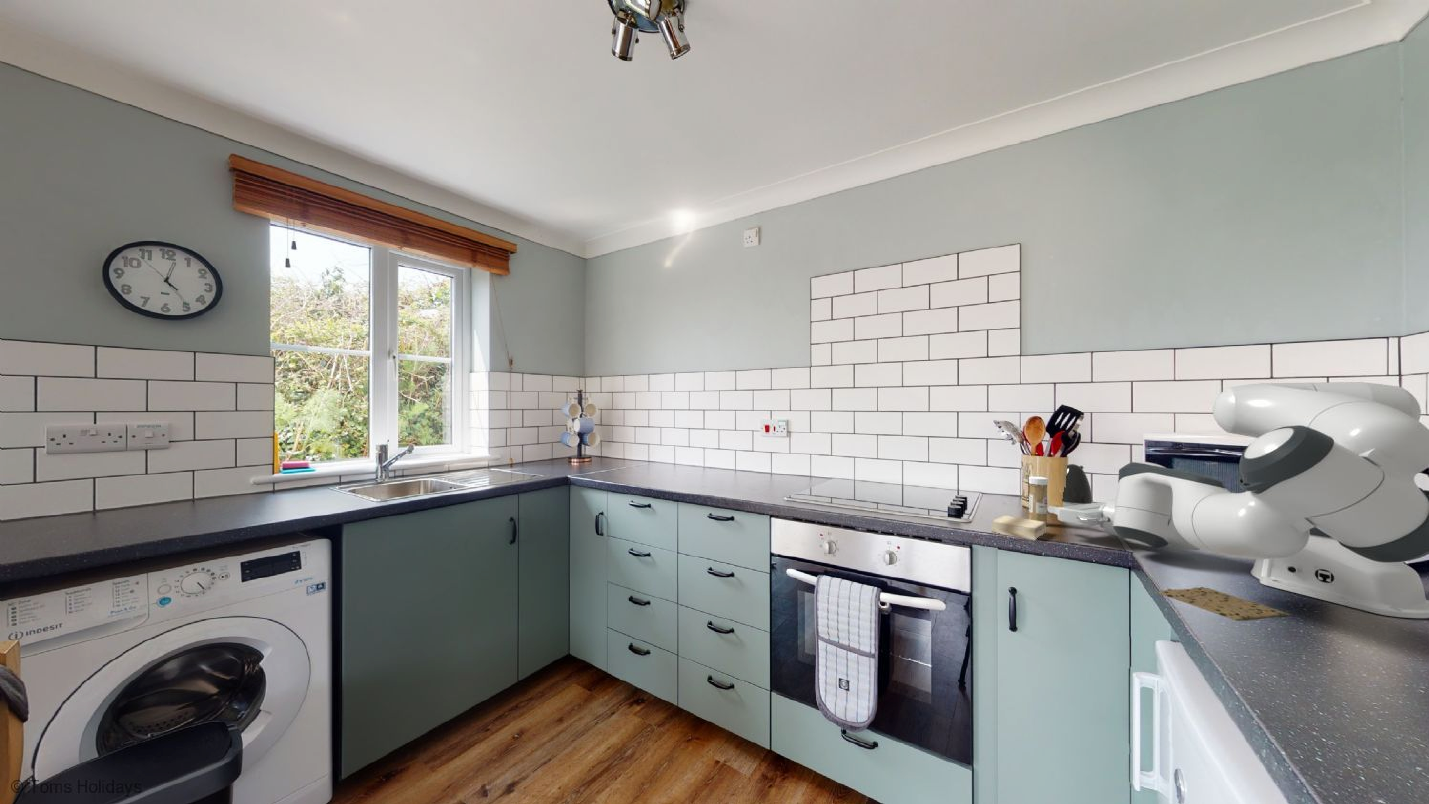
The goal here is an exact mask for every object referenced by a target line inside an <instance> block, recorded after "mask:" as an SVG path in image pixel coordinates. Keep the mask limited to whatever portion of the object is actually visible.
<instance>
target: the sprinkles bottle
mask: <svg viewBox="0 0 1429 804" xmlns="http://www.w3.org/2000/svg"><path fill="white" fill-rule="evenodd" d="M1028 483H1029V494H1028V495H1029V496H1028V497H1029V498H1028V499H1029V501H1028V512H1029V518H1028V519H1030V520H1036V521H1042V522H1046V526H1048V485H1049V479H1048V477H1043V476H1029V478H1028Z"/></svg>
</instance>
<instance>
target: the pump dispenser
mask: <svg viewBox="0 0 1429 804" xmlns="http://www.w3.org/2000/svg"><path fill="white" fill-rule="evenodd" d="M1066 465H1067V474H1066V488H1065V487H1064V492H1063V499H1062V501H1063V507H1064V506H1069V504H1072V503H1074V504H1091V503H1093V493H1092V489H1091V486H1090V482H1089V479H1088V476H1087V474H1086V473H1085V471H1084V466H1083V465H1078V464H1074V463H1070V464H1066Z"/></svg>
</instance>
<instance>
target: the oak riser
mask: <svg viewBox="0 0 1429 804" xmlns="http://www.w3.org/2000/svg"><path fill="white" fill-rule="evenodd" d="M1046 526H1047V525H1046V522H1042V521H1036V520H1030V519H1029V518H1023V517H1017V516H1016V517H1015V516H1009V515H1005V514H1004V515H1002V516H1000V517H997V518H995V519H993V520H991V533H992V532H996V533H995V534H998V533H1000V534H999V535H1004V536H1008V537H1009V536H1010V537H1014V538H1015V537H1016V538H1020V539H1026V540H1030V541H1036V540H1038V539H1039V538H1040V537H1039V536H1041V535H1042V536H1044V535H1045V534H1046V531H1047V530H1046V529H1047V528H1046ZM1044 533H1045V534H1044ZM1043 534H1044V535H1043ZM1042 536H1041V537H1042ZM1038 537H1039V538H1038ZM1037 538H1038V539H1037Z"/></svg>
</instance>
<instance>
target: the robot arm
mask: <svg viewBox="0 0 1429 804" xmlns="http://www.w3.org/2000/svg"><path fill="white" fill-rule="evenodd" d="M1421 413H1422V410H1421V405H1420V403H1419V401H1418V399H1417V398H1416V397H1415V396H1414V395H1413V394H1412V393H1411V392H1409V391H1408V390H1407V389H1405V388H1404V387H1401V386H1396V385H1389V384H1383V383H1381V384H1380V383H1372V382H1363V381H1355V382H1353V381H1351V382H1349V381H1345V382H1343V381H1342V382H1341V381H1340V382H1339V381H1338V382H1337V381H1335V382H1334V381H1333V382H1332V381H1331V382H1330V381H1329V382H1271V383H1270V382H1265V383H1264V382H1261V383H1250V384H1244V385H1243V384H1242V385H1237V386H1231V387H1227V388H1226V389H1224V390H1223V391H1222V392H1220V394H1218V396H1217V397H1216V398H1215V400H1214V402H1213V405H1212V415H1213V418H1214V420H1215V422H1216V423H1217V425H1218V426H1219V427H1220V428H1221V429H1223V431H1224V432H1226V433H1228V434H1234V435H1239V436H1244V437H1249V438H1250V437H1251V438H1255V439H1254V440H1253V441H1252V442H1251V443H1250V444H1249V445H1248V446H1246V448H1245V449H1244V450H1242V451H1243V452H1242V453H1241V457H1240V459H1239V464H1238V465H1239V466H1238V469H1239V473H1240V474H1239V476H1238V479H1237V484H1238V485H1239V488H1241V489H1242V490H1243V491H1244V492H1238V493H1237V492H1236V493H1235V492H1230V490H1228V488H1227V485H1225V483H1224V482H1223V481H1221V480H1219V479H1217V478H1215V477H1212V476H1210V475H1204V474H1199V473H1197V472H1191V471H1186V470H1181V469H1180V470H1179V469H1173V468H1169V467H1168V468H1167V467H1166V466H1163V465H1161V464H1158V463H1153V462H1149V461H1135V462H1134V461H1132V462H1129V463H1127V464H1125V465H1124V466H1122V467H1121V468H1120V469H1119V470H1118V480H1117V484H1118V486H1117V490H1116V491H1117V492H1116V498H1115V499H1110V500H1108V501H1107V502H1092V503H1091V504H1074V503H1072V504H1069V506H1064V507H1058V506H1057V505H1056V506H1055V505H1049V506H1048V505H1047V513H1050V514H1054V515H1057V520H1058V521H1060V522H1062V523H1067V524H1072V525H1079V526H1085V527H1096V526H1100V527H1101V528H1102V529H1104V531H1105V532H1106V534H1108V535H1110V536H1115V537H1120V538H1121V539H1122V540H1123V541H1125V542H1127V543H1129V544H1133V545H1138V546H1139V545H1140V546H1145V547H1150V548H1154V549H1156V550H1157V549H1160V548H1164V547H1168V548H1174V549H1175V548H1176V549H1183V550H1192V551H1199V550H1201V551H1204V552H1208V553H1210V554H1214V555H1217V556H1222V557H1228V558H1235V559H1241V560H1242V559H1244V560H1246V559H1247V560H1255V561H1254V564H1253V567H1252V569H1251V570H1250V574H1251V575H1252V577H1253V576H1254V577H1255V578H1257V579H1258V580H1259V583H1260V584H1262V585H1265V586H1268V587H1272V588H1276V589H1280V590H1282V591H1283V590H1284V591H1287V592H1291V593H1296V594H1298V595H1303V596H1306V597H1311V598H1315V599H1319V600H1323V601H1325V602H1326V601H1327V602H1330V603H1334V604H1337V605H1341V606H1347V607H1350V608H1354V609H1357V610H1361V611H1365V612H1370V613H1374V614H1378V615H1382V616H1389V617H1396V618H1404V619H1405V618H1407V619H1429V600H1428V599H1426V593H1425V589H1424V585H1423V584H1424V583H1423V582H1422V579H1421V577H1420V574H1419V573H1418V572H1417V571H1416V570H1415V569H1414V568H1412V567H1411V566H1409V565H1407V564H1406V563H1405V562H1409V561H1410V562H1411V561H1413V560H1417V559H1421V558H1423V557H1426V556H1428V555H1429V490H1426V489H1423V488H1422V487H1419V486H1418V485H1417V484H1416V482H1415V477H1416V476H1417V475H1418V474H1419V473H1421V472H1424V471H1425V470H1426V469H1428V468H1429V428H1428V427H1427V426H1426V425H1425V424H1423V423H1422V422H1420V419H1421Z"/></svg>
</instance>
